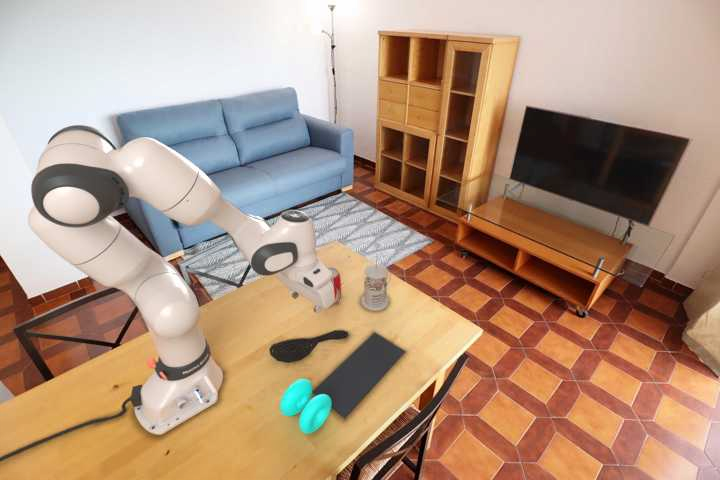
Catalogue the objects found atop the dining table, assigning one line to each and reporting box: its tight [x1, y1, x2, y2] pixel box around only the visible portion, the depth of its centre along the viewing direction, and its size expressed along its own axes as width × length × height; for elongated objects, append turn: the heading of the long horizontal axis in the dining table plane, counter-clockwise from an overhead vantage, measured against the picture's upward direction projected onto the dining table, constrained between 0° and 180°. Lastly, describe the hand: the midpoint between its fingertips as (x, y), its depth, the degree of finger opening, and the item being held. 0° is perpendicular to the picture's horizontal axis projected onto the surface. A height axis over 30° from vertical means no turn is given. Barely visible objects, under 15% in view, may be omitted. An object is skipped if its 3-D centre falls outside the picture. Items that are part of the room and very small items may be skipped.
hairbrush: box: [269, 329, 349, 364], centre depth 114 cm, size 8×4×25 cm
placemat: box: [312, 331, 406, 419], centre depth 107 cm, size 28×12×1 cm, turn 140°
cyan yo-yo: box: [279, 378, 332, 435], centre depth 93 cm, size 10×10×10 cm
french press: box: [360, 242, 392, 312], centre depth 126 cm, size 10×12×25 cm
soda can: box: [327, 267, 342, 304], centre depth 130 cm, size 7×7×12 cm
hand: (306, 303), depth 106 cm, fingers open, 8 cm apart
